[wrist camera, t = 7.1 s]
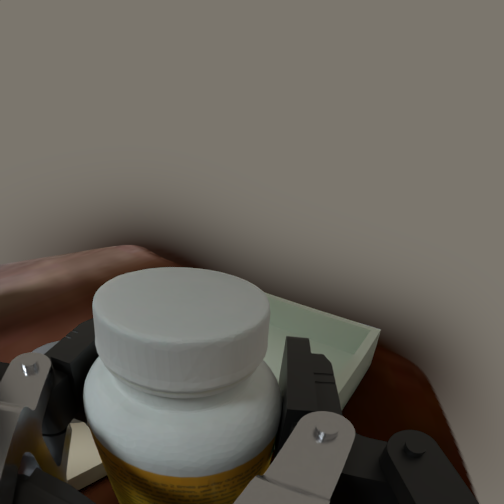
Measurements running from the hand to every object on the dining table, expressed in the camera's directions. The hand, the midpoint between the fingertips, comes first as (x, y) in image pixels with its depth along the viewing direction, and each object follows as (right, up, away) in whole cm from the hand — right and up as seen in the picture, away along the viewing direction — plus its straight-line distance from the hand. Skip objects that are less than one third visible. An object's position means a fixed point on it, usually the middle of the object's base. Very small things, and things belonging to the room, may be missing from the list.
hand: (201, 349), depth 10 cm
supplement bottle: (-1, -7, -1) cm, 7 cm away
